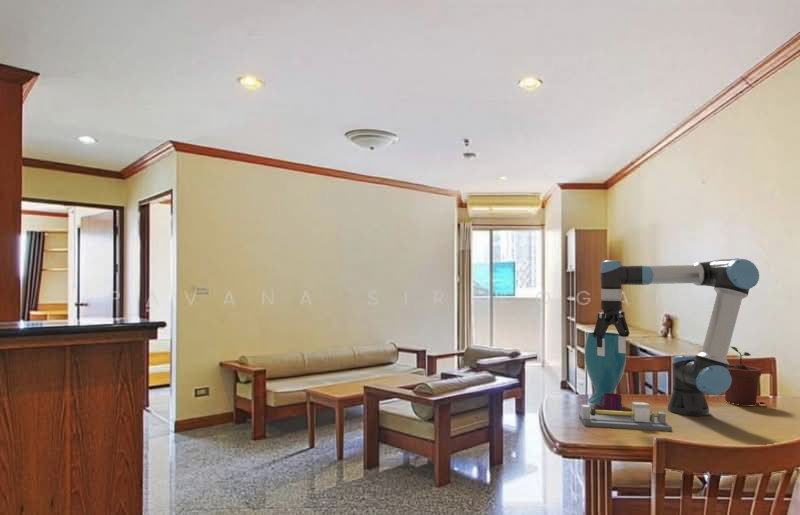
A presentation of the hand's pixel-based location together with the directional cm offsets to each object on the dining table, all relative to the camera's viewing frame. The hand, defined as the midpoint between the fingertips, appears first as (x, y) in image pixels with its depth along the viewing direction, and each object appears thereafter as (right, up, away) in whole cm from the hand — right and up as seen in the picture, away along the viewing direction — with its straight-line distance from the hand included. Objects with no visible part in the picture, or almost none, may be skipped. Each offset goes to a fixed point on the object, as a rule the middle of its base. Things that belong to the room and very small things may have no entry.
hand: (611, 354), depth 212 cm
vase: (+8, -26, +28) cm, 39 cm away
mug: (+3, -26, +10) cm, 28 cm away
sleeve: (+7, -23, -10) cm, 26 cm away
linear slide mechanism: (+1, -25, -9) cm, 26 cm away
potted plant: (+72, -28, +33) cm, 84 cm away
